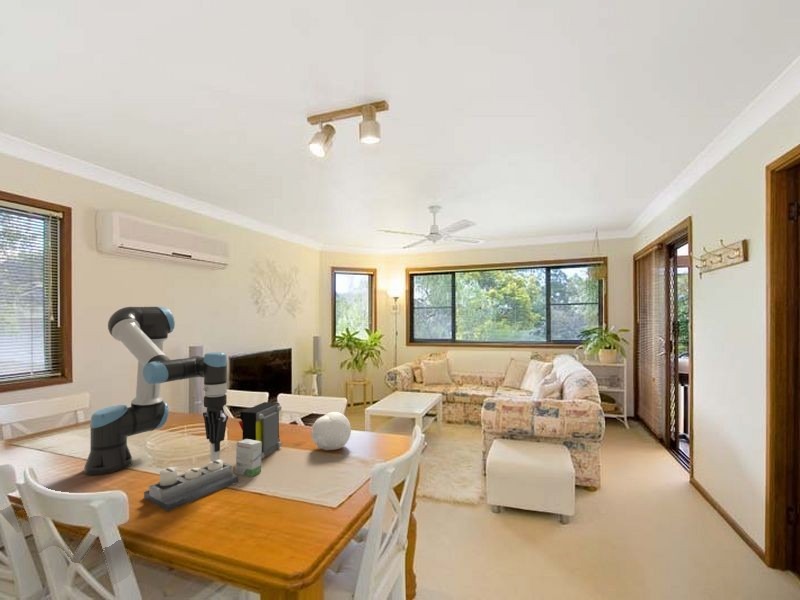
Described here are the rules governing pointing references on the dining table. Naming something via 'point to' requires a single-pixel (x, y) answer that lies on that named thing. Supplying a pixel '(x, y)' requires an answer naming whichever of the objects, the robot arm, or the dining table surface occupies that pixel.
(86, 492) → the dining table surface
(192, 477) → the knob mid
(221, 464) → the knob far
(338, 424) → the decorative orb
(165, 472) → the knob near
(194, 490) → the mount
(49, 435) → the dining table surface
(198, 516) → the dining table surface
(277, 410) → the electrical component
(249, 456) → the ink box
